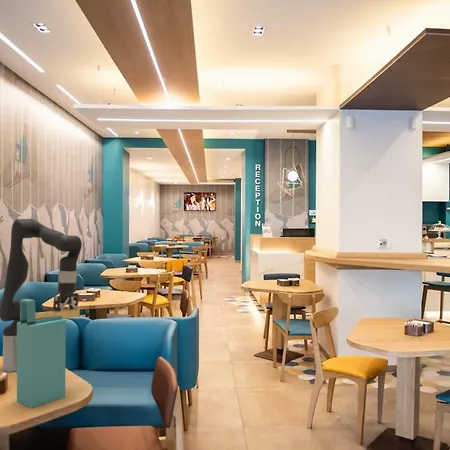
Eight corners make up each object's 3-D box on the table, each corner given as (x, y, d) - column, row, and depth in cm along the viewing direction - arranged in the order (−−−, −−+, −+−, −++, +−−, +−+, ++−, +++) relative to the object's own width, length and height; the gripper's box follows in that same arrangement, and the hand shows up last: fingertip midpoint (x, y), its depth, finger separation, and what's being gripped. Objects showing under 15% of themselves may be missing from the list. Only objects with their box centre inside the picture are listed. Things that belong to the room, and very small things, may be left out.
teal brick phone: (16, 401, 191) (16, 299, 191) (50, 390, 203) (50, 294, 202) (31, 408, 184) (31, 302, 184) (65, 396, 196) (65, 297, 196)
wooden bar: (30, 320, 192) (30, 313, 192) (76, 315, 206) (76, 308, 206) (33, 321, 190) (33, 314, 190) (79, 316, 204) (79, 309, 204)
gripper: (69, 279, 215) (67, 315, 214) (49, 281, 201) (47, 320, 201) (84, 280, 212) (82, 316, 212) (64, 283, 199) (62, 321, 198)
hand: (65, 318), depth 206 cm, fingers open, 8 cm apart
